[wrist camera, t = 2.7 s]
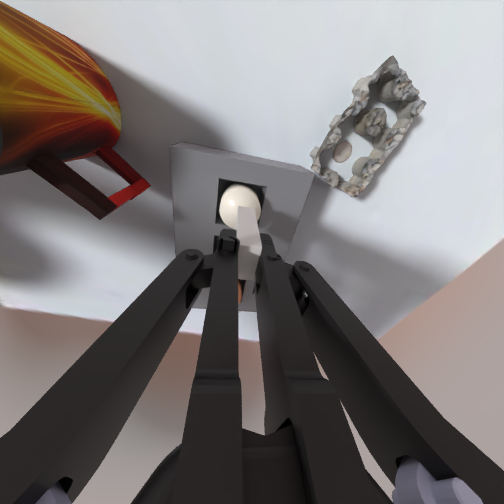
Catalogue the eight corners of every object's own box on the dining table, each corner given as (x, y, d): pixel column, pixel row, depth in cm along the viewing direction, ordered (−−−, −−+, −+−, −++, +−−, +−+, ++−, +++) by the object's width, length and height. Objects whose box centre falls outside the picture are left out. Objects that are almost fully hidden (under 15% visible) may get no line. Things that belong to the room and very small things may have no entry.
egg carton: (338, 192, 25) (353, 203, 22) (297, 160, 23) (308, 166, 19) (409, 111, 21) (444, 109, 17) (369, 58, 18) (400, 42, 14)
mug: (153, 189, 23) (90, 235, 13) (9, 125, 18) (-250, 122, 9) (174, 102, 18) (103, 74, 9) (-9, -10, 14) (-596, -338, 4)
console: (185, 284, 32) (178, 307, 28) (182, 142, 20) (169, 145, 16) (262, 290, 35) (265, 312, 30) (300, 165, 23) (314, 174, 18)
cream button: (220, 215, 22) (217, 227, 19) (223, 179, 20) (221, 187, 17) (254, 219, 23) (256, 232, 20) (261, 185, 20) (264, 194, 18)
